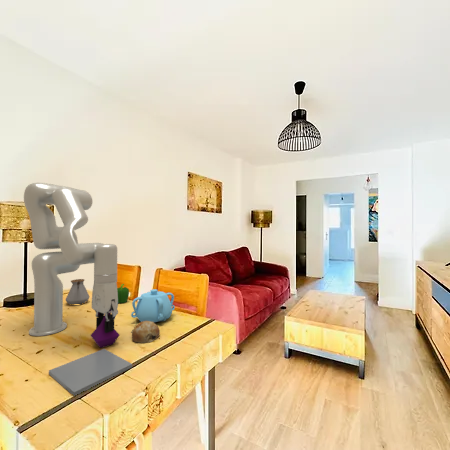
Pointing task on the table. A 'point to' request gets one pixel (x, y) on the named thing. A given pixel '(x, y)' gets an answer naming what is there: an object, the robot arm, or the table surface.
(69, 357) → the table surface
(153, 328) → the bread roll
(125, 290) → the bell pepper
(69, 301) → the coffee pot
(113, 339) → the perfume bottle
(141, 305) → the decorative pot
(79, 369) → the slate tile
